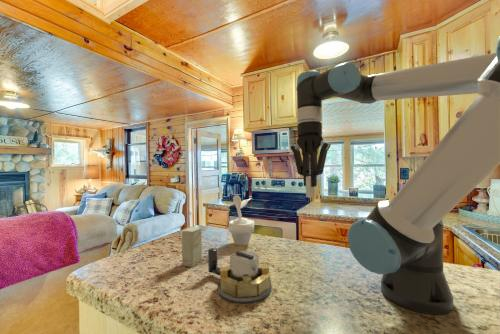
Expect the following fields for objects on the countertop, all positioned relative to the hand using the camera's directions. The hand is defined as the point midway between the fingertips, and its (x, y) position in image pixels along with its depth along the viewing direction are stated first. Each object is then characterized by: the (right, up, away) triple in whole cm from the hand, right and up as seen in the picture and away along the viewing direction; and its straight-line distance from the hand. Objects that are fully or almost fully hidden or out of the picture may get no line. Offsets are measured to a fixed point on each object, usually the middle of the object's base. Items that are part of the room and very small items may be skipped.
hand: (310, 196), depth 72 cm
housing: (-21, -25, -8) cm, 33 cm away
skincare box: (-40, -25, +9) cm, 48 cm away
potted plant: (-22, -25, +30) cm, 45 cm away
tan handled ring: (-24, -23, -6) cm, 34 cm away
